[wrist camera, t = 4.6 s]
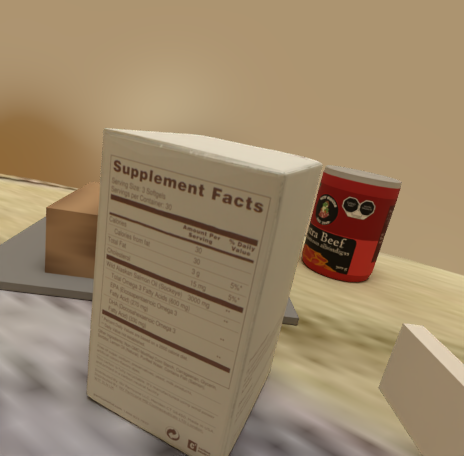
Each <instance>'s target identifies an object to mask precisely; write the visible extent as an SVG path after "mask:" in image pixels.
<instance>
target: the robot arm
mask: <svg viewBox="0 0 464 456" xmlns="http://www.w3.org/2000/svg"><path fill="white" fill-rule="evenodd" d="M378 388H379V389H380V391H381V393H382V394H383V396H384V397H385V399H386V400H387V402H388V403H389V405H390V406H391V408H392V409H393V411H394V413H395V414H396V416H397V417H398V419H399V420H400V422H401V423H402V425H403V426H404V428H405V430H406V431H407V433H408V434H409V436H410V437H411V439H412V440H413V442H414V443H415V445H416V447H417V448H418V450H419V451H420V453H421V454H422V456H464V364H463V363H462V362H461V361H460V360H459V359H458V358H457V357H456V356H454V355H453V354H452V353H451V352H450V351H449V350H448V349H447V348H446V347H445V346H444V345H443V344H442V343H441V342H440V341H439V340H438V339H437V338H436V337H434V336H433V335H432V334H431V333H430V332H429V331H428V330H427V329H426V328H425V327H424V326H421V325H413V324H404V323H403V325H402V327H401V330H400V333H399V335H398V338H397V340H396V343H395V346H394V348H393V351H392V353H391V356H390V359H389V361H388V364H387V367H386V369H385V372H384V374H383V377H382V380H381V382H380V385H379V387H378Z"/></svg>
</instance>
